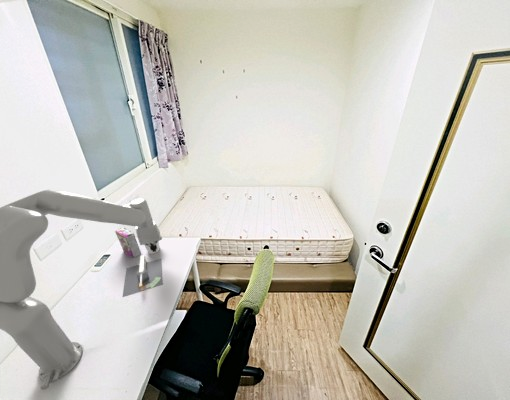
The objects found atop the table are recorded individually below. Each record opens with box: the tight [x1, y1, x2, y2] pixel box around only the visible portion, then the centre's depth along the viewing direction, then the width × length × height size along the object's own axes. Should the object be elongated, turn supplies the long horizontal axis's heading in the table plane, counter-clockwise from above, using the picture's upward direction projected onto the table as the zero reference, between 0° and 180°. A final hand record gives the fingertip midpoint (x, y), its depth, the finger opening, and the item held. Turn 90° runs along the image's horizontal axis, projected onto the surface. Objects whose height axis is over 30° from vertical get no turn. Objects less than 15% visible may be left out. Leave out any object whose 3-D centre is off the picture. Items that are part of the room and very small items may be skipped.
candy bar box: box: [114, 226, 142, 258], centre depth 128 cm, size 11×5×16 cm, turn 58°
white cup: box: [144, 241, 161, 255], centre depth 131 cm, size 8×8×10 cm
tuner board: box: [122, 258, 164, 298], centre depth 115 cm, size 20×18×1 cm
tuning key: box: [136, 254, 149, 287], centre depth 114 cm, size 22×5×4 cm, turn 23°
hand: (154, 250), depth 119 cm, fingers closed
